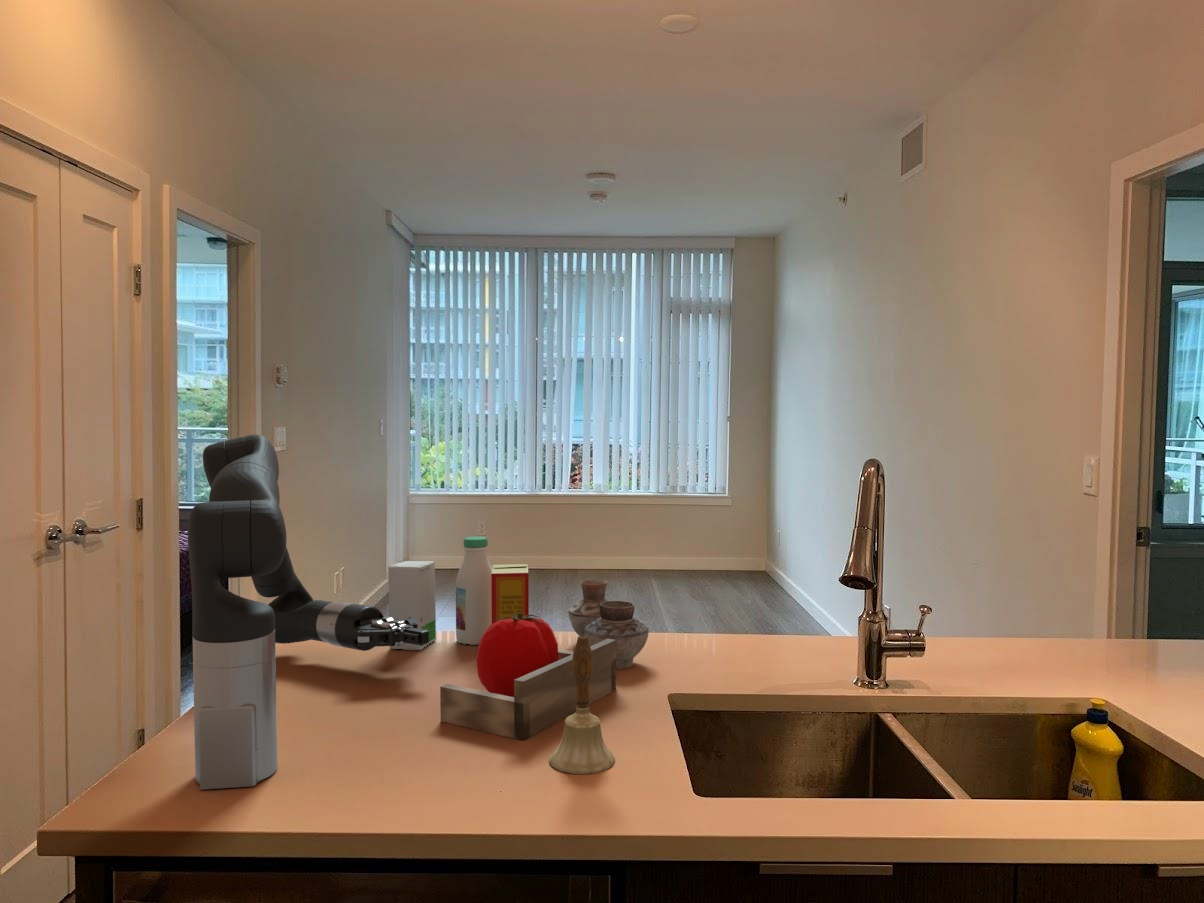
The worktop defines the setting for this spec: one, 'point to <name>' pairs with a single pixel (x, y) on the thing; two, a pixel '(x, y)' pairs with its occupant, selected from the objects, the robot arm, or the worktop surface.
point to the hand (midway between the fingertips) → (426, 638)
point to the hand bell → (582, 724)
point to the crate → (530, 696)
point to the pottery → (608, 622)
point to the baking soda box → (509, 590)
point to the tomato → (514, 651)
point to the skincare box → (413, 597)
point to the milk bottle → (473, 592)
